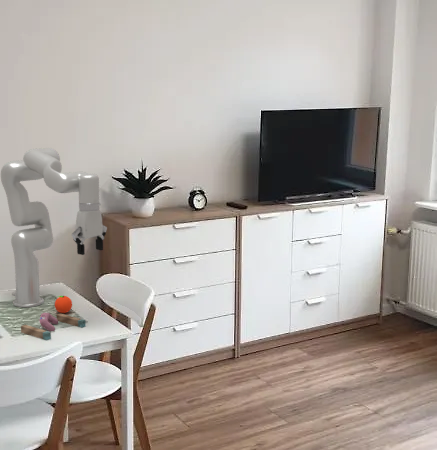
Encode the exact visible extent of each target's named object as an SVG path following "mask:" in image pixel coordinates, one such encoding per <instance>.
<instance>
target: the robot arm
mask: <svg viewBox="0 0 437 450" xmlns="http://www.w3.org/2000/svg"><path fill="white" fill-rule="evenodd" d="M62 169H63V167H62V163H61V156H60V155H59V153H58V151H57V150H56V149H54V148H52V147H45V148H42V147H41V148H32V149H29V150H28V151H26V152H25V153H24V155H23V157H22V160H21V159H20V160H13V161H9V162H6V163H4V165H2V167H1V170H0V180H1V181H0V182H1V185H2V187H3V189H4V192H5V194H6V199H7V204H8V210H9V216H10V219H11V220H10V221H11V223H12V224H13V225H14V226H15V227H27V226H33V225H34V227H30V228H25V229H20V230H17V231H15V232H14V233H13V234H12V236H11V239H10V240H11V241H10V242H11V246H12V247H11V248H12V252H13V257H14V259H13V260H14V274H15V291H14V292H12V293H11V295H12V296H13V297H14V298H15V299H14V300H13V301H12V305H13V306H14V307H17V308H32V307H37V306H41V305H42V304H44V303H45V302H44V301H45V300H44V298H43V297H41V291H40V270H39V269H40V266H39V261H38V258H37V256H36V255H35V254H34V252H36V251H41V250H45V249H49V248H50V247H51V246H52V244H53V243H54V241H53V240H54V236H53V229H52V223H51V219H50V213H49V210H48V209H49V208H48V207H47V206H46V205H45V203H43V202H42V201H38V200H37V201H30V198H29V193H28V190H27V188H26V187H25V186H24V185H23V184H22V183H21V182H27V181H28V182H29V181H36V180H37V181H38V180H42V179H43V181H44V183H45V185H46V186H47V187H48V188H49V189H50V190H52V191H54V192H56V193H58V194H69V193H78V211H77V213H76V220H75V230H74V231H73V232H72V233H71V237H72V239H73V241H74V243H75V244H76V248H77V249H76V250H77V251H76V252H77V255H81V256H84V255H85V250H86V249H85V244H84V243H85V240H86V239H90V238H91V239H92V238H95V237H96V238H95V249H96V250H97V251H98V250H99V251H103V250H104V239H105V236H106V233H107V230H108V227H107V226H105V225H104V224H103V216H102V212H101V209H100V208H101V207H100V206H101V202H100V177H99V175H97V174H95V173H88V172H86V171H73V172H72V171H69V172H62Z"/></svg>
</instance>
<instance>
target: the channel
mask: <svg viewBox="0 0 437 450" xmlns="http://www.w3.org/2000/svg"><path fill="white" fill-rule="evenodd" d="M55 315H56V317H55V318H56V319H57V320H58V323H59V322H60V323H63V324H67V325H71V326H74V327H77V328H81V329H82V328H85V327H87V325H86V323H87V322H86V319H83V318H79V317H75V316H72V315H68V314H65V313H60V312H59V313H57V314H55ZM20 333H22V334H24V335H28V336H31V337H35V338H39V339H41V340H44V341H48V340H51V339H52V333H51V331H48V330H46V329H41V328H38V327H35V326H31V325H28V324H23V325H20Z"/></svg>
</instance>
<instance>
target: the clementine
mask: <svg viewBox="0 0 437 450" xmlns="http://www.w3.org/2000/svg"><path fill="white" fill-rule="evenodd" d="M53 301H54V308H55V310H56V312H59V314H60V313H61V314H65V313H69V312H70V310H71V309H72V308H73V302H72V299H71V298H70V297H69V296H67V295H58V296H57V297H56V298H54V300H53Z"/></svg>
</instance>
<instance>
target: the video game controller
mask: <svg viewBox="0 0 437 450" xmlns="http://www.w3.org/2000/svg"><path fill="white" fill-rule="evenodd" d="M38 322H39V324H40V326H41V327H42V328H44V330H45V331H48V332H51V331H54V332H55V331H56V328H55V326H54V325H58V324H59V321H58V320H57V319H56V317H55V316H53V315H52V314H51V313H50V312H48V311H46V312H43V313H41V314H40V317H39V319H38Z"/></svg>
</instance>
